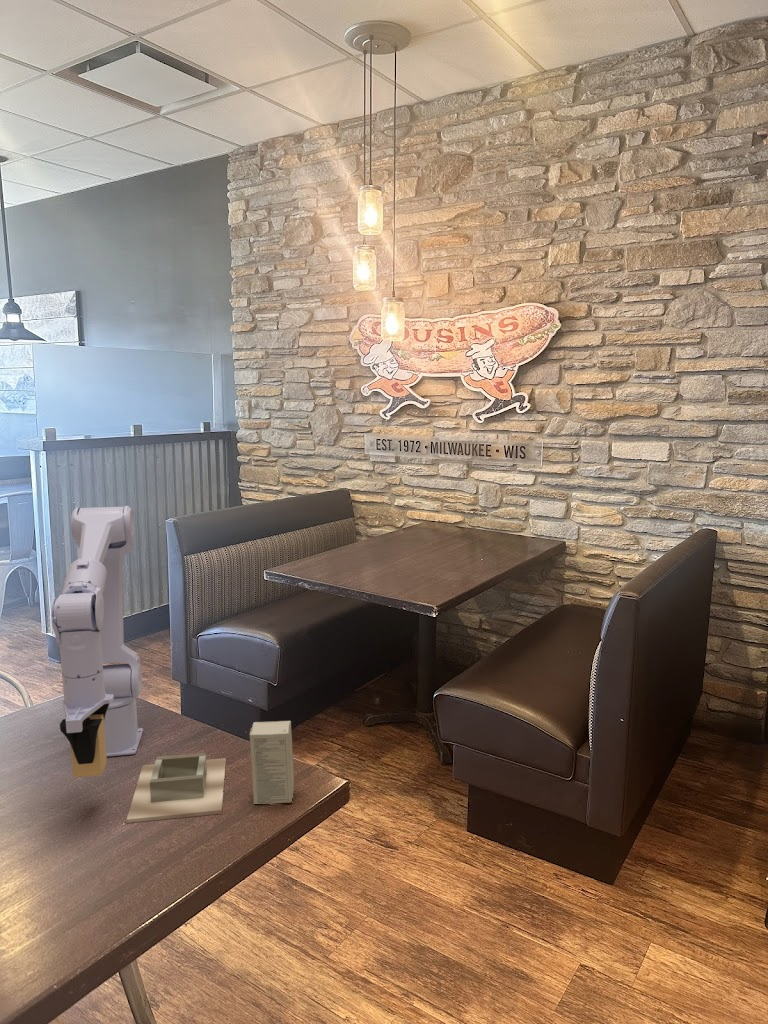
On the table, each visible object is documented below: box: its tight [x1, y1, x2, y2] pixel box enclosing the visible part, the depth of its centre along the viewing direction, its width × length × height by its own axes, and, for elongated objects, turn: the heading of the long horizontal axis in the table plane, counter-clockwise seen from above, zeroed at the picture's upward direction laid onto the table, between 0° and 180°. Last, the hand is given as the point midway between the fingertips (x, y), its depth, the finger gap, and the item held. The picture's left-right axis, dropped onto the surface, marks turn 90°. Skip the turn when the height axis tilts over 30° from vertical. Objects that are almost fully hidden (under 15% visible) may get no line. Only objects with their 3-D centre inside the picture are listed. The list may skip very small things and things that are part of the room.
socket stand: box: [126, 752, 227, 824], centre depth 118 cm, size 16×14×4 cm
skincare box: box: [249, 720, 295, 804], centre depth 115 cm, size 6×4×12 cm
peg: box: [70, 714, 108, 779], centre depth 110 cm, size 4×4×8 cm
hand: (89, 755), depth 111 cm, fingers closed on peg, 4 cm apart
